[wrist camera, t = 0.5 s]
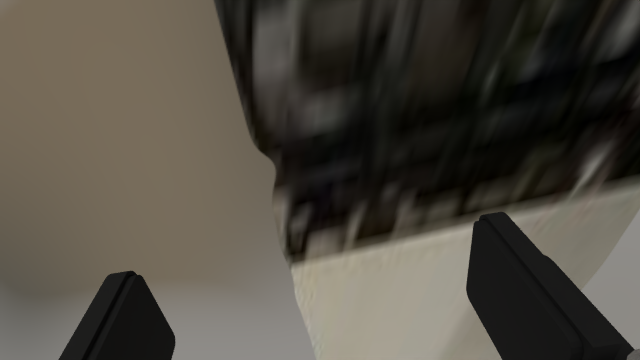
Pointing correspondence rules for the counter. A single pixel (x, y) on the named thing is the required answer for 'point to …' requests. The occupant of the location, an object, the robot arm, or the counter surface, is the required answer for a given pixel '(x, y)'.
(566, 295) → the robot arm
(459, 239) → the counter surface
